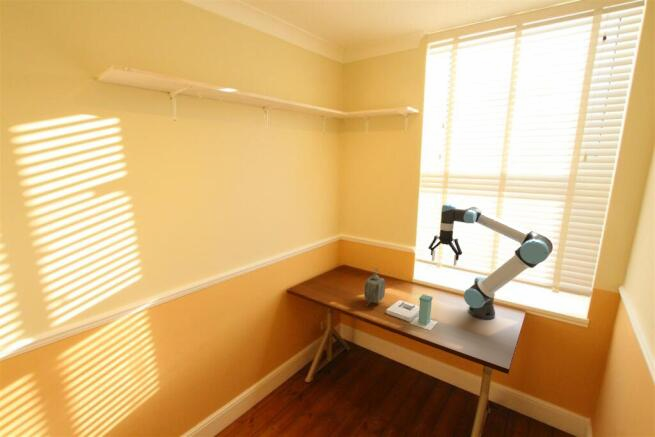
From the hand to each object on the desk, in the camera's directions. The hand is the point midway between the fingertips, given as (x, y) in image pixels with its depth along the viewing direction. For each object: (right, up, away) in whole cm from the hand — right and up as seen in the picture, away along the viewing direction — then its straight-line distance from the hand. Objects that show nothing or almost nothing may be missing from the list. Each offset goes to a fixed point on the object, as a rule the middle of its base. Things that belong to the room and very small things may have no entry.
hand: (443, 262), depth 197 cm
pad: (-16, -34, -11) cm, 39 cm away
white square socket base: (-24, -32, +2) cm, 40 cm away
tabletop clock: (-41, -30, +12) cm, 52 cm away
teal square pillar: (-16, -34, -11) cm, 39 cm away
